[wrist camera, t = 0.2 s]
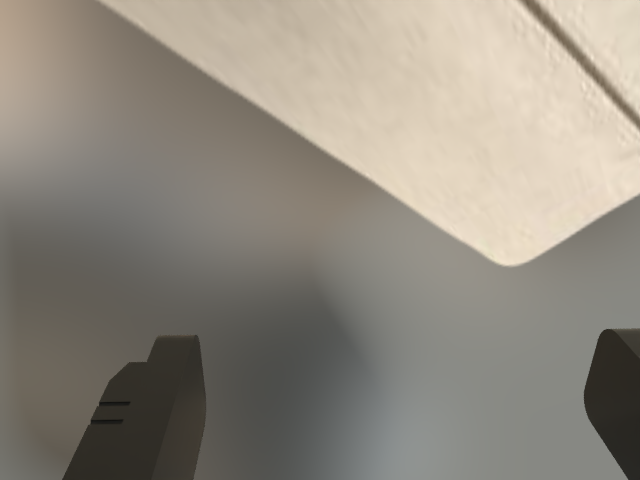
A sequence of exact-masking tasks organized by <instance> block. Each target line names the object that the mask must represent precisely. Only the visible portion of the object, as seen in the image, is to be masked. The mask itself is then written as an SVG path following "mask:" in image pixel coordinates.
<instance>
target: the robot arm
mask: <svg viewBox="0 0 640 480" xmlns="http://www.w3.org/2000/svg"><path fill="white" fill-rule="evenodd" d="M584 404H585V409H586V413H587V415H588V418H589V420H590V422H591V423H592V425H593V426H594V428H595V429H596V431H597V432H598V434H599V435H600V437H601V439H602V440H603V442H604V443H605V445H606V446H607V448H608V449H609V451H610V452H611V454H612V455H613V457H614V458H615V460H616V461H617V463H618V464H619V466H620V467H621V469H622V470H623V472H624V474H625V475H626V476H627V478H628V480H640V329H606V330H604V331H603V332H602V333H601V334H600V336H599V339H598V342H597V346H596V349H595V353H594V356H593V360H592V364H591V367H590V371H589V375H588V378H587V382H586V385H585V390H584ZM205 419H206V393H205V385H204V376H203V367H202V358H201V349H200V342H199V338H198V336H197V335H168V336H167V335H163V336H158V337H157V339H156V340H155V343H154V345H153V348H152V350H151V353H150V355H149V358H148V360H147V362H129V363H128V364H127V365H126V366H125V367H124V368H123V369H122V370H121V371H119V372H118V373H117V374H116V375H115V376H114V377H113V378H112V379H111V380H110V381H109V383H108V385H107V387H106V389H105V391H104V394H103V395H102V397H101V400H100V402H99V406H97V408H96V410H95V412H94V414H93V416H92V418H91V424H90V425H88V427H87V429H86V431H85V433H84V435H83V437H82V439H81V442H80V444H79V446H78V448H77V450H76V452H75V454H74V456H73V458H72V461H71V462H70V464H69V467H68V469H67V471H66V473H65V475H64V477H63V479H62V480H193V479H194V474H195V469H196V464H197V460H198V455H199V451H200V446H201V441H202V437H203V432H204V427H205Z"/></svg>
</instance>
